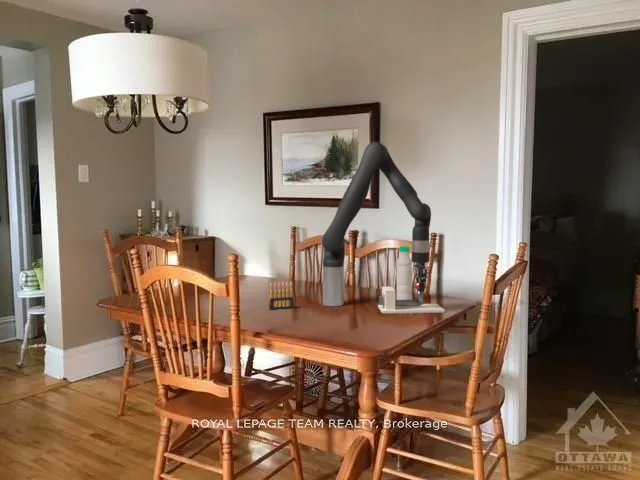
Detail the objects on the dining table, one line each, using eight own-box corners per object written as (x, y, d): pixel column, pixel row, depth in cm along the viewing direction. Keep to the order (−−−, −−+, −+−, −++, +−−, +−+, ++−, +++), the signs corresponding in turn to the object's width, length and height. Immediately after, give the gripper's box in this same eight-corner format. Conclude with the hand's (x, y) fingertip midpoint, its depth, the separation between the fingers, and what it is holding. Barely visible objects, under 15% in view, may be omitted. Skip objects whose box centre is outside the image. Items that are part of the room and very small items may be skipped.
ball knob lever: (380, 307, 240) (380, 283, 239) (378, 305, 245) (378, 282, 244) (427, 307, 241) (427, 283, 240) (424, 304, 246) (424, 281, 245)
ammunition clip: (292, 307, 248) (292, 280, 247) (293, 308, 246) (293, 281, 245) (268, 309, 245) (268, 281, 244) (269, 310, 243) (269, 282, 242)
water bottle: (411, 302, 259) (411, 247, 257) (395, 301, 260) (396, 247, 258) (412, 299, 266) (412, 245, 263) (396, 298, 267) (397, 245, 265)
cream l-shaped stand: (382, 313, 236) (382, 291, 235) (378, 306, 249) (378, 286, 248) (444, 312, 237) (445, 290, 236) (437, 306, 250) (437, 285, 249)
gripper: (408, 249, 248) (408, 287, 249) (415, 252, 234) (415, 293, 235) (425, 248, 248) (425, 287, 250) (433, 252, 234) (433, 293, 235)
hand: (420, 290), depth 242 cm, fingers closed on ball knob lever, 5 cm apart
